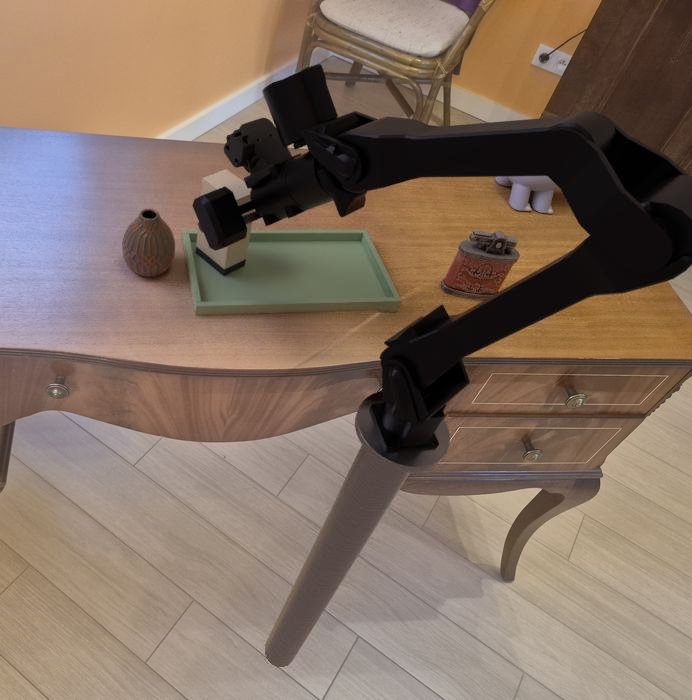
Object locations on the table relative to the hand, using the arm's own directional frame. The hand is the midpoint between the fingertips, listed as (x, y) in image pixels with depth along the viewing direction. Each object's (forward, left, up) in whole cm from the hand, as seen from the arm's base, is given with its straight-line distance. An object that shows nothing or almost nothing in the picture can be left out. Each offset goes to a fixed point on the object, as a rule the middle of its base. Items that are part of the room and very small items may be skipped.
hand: (227, 215), depth 80 cm
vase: (-1, +10, -8) cm, 13 cm away
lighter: (-7, -35, -8) cm, 36 cm away
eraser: (0, 0, -7) cm, 7 cm away
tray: (-3, -9, -8) cm, 12 cm away
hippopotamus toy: (+17, -58, -8) cm, 61 cm away
